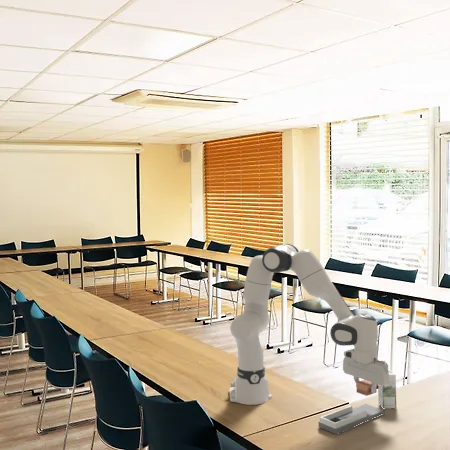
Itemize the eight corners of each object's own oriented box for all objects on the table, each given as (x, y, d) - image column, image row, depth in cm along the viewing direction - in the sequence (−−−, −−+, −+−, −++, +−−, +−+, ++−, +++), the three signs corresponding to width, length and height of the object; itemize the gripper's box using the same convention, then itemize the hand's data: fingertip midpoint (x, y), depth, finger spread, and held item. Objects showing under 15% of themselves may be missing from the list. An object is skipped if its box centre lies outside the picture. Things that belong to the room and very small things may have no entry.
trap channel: (336, 434, 208) (336, 424, 208) (318, 426, 216) (318, 416, 215) (384, 415, 226) (384, 405, 225) (365, 408, 233) (365, 399, 232)
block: (366, 395, 222) (366, 385, 222) (356, 392, 226) (356, 382, 226) (376, 392, 226) (376, 382, 225) (366, 388, 230) (366, 379, 229)
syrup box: (392, 404, 237) (391, 369, 236) (397, 409, 231) (395, 373, 230) (378, 405, 237) (377, 370, 236) (383, 410, 231) (381, 374, 230)
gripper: (393, 360, 218) (392, 395, 219) (350, 348, 234) (350, 381, 235) (382, 363, 214) (382, 399, 215) (340, 351, 230) (340, 384, 231)
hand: (365, 389), depth 225 cm, fingers closed on block, 5 cm apart
